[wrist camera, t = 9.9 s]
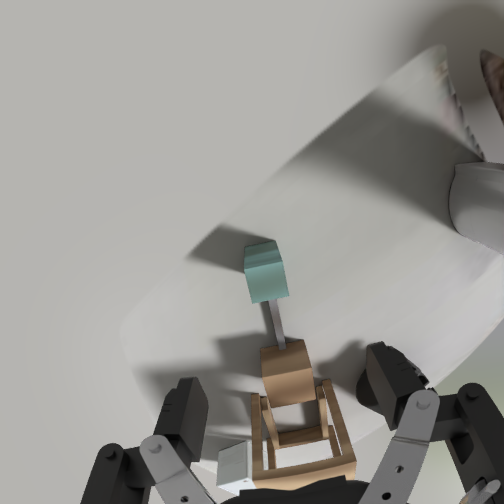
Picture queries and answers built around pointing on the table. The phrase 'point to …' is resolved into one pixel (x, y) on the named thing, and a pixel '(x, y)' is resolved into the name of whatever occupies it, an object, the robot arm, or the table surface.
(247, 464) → the product box
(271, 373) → the corded block
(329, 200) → the table surface
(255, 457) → the shelf lane
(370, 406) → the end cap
